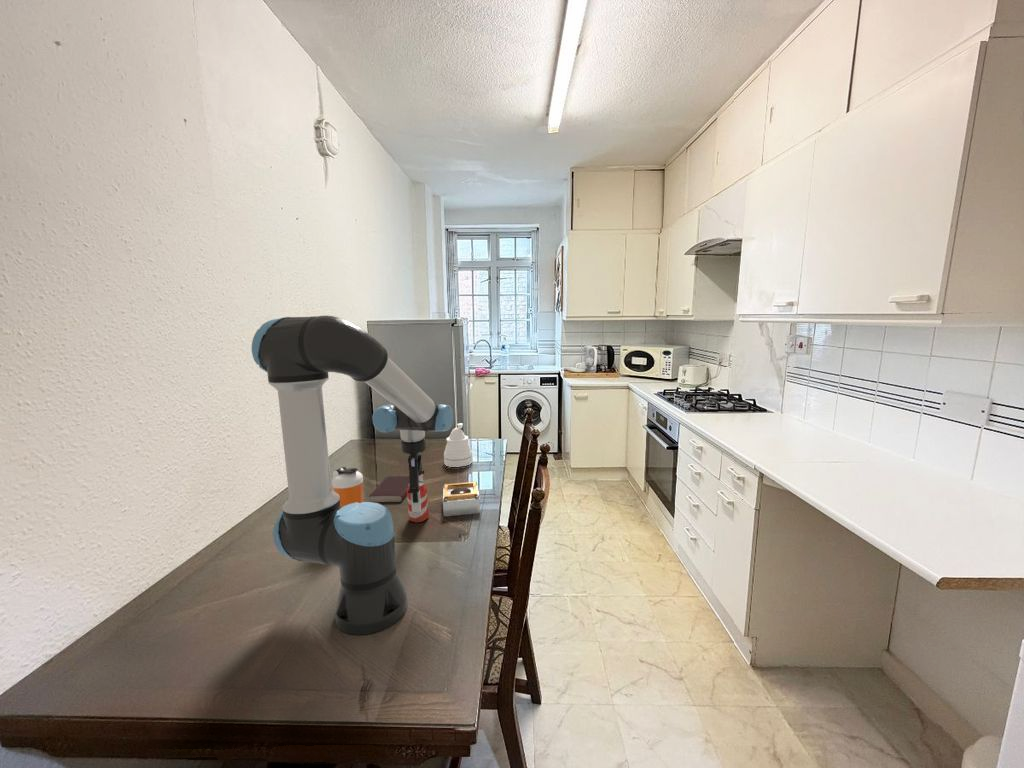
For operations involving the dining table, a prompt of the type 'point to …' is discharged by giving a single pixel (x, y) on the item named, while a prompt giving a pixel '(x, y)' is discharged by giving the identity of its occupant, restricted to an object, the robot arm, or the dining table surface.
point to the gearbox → (461, 499)
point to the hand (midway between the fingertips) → (418, 502)
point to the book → (391, 489)
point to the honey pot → (457, 449)
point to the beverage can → (424, 504)
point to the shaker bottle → (348, 485)
